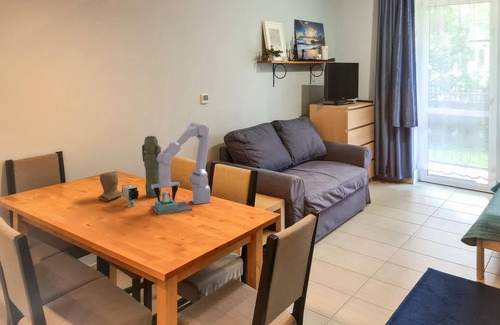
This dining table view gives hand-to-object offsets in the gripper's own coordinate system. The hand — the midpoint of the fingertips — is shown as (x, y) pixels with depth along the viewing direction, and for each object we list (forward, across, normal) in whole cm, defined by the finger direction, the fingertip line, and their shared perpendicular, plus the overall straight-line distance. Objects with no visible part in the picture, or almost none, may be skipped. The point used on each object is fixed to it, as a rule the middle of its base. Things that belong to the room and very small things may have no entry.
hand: (166, 200), depth 224 cm
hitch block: (+5, +3, 0) cm, 6 cm away
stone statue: (+5, -1, +28) cm, 28 cm away
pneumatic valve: (+5, -16, +14) cm, 22 cm away
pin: (+4, 0, 0) cm, 4 cm away
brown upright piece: (+5, -25, +34) cm, 43 cm away
